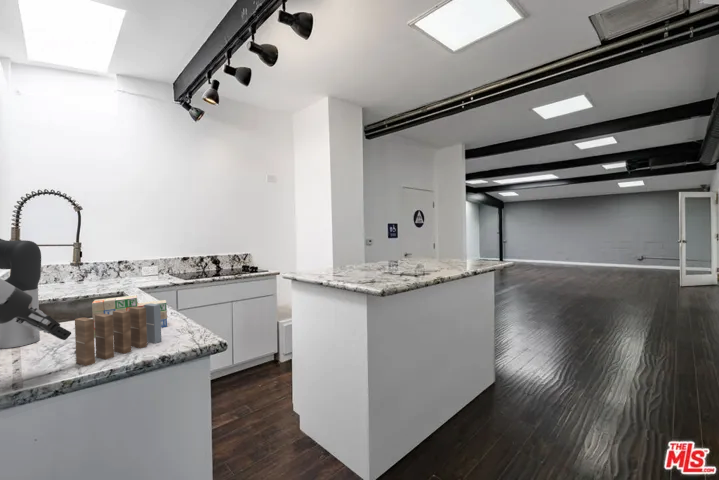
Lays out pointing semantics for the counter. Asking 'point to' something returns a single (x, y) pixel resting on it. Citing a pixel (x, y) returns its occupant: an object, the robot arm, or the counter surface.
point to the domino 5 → (153, 322)
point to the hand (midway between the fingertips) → (67, 336)
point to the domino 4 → (138, 327)
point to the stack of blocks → (125, 307)
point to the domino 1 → (84, 341)
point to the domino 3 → (122, 331)
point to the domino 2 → (104, 336)
